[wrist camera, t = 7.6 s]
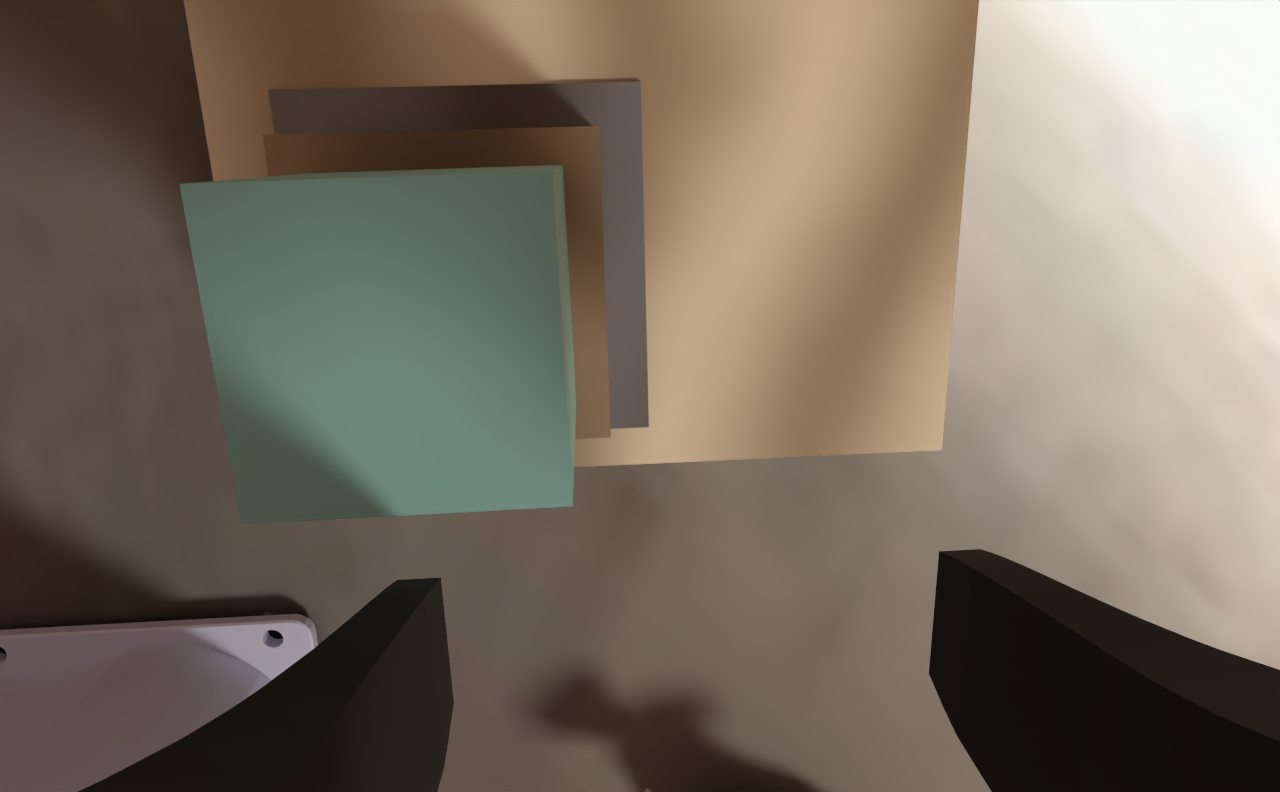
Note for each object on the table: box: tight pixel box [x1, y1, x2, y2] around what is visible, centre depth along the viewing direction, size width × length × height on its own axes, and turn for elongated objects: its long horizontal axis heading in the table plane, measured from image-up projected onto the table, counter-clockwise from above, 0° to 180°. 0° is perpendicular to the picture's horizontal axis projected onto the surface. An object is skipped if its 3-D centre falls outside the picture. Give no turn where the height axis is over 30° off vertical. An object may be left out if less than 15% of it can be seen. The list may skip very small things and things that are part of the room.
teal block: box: [179, 165, 576, 524], centre depth 13 cm, size 5×5×5 cm
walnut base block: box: [262, 126, 611, 439], centre depth 18 cm, size 6×6×4 cm
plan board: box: [184, 0, 979, 467], centre depth 19 cm, size 17×15×1 cm
